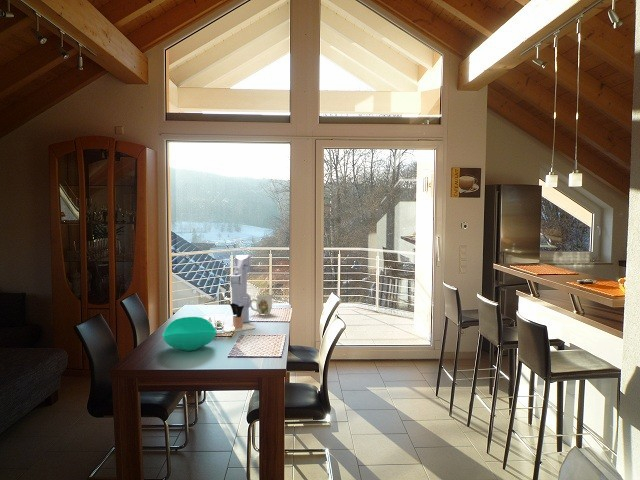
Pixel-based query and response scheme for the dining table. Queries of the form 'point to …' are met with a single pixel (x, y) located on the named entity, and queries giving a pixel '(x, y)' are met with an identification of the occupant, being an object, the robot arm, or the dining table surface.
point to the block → (237, 322)
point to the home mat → (244, 328)
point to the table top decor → (189, 333)
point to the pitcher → (263, 304)
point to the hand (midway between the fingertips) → (237, 315)
